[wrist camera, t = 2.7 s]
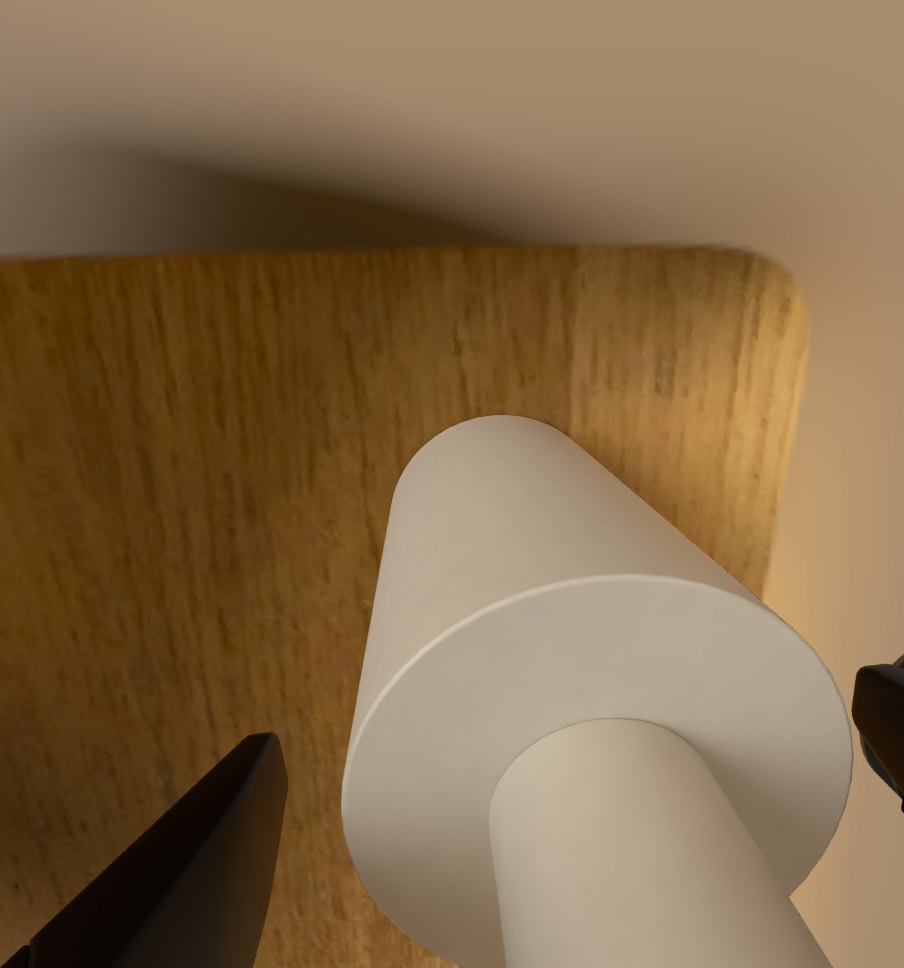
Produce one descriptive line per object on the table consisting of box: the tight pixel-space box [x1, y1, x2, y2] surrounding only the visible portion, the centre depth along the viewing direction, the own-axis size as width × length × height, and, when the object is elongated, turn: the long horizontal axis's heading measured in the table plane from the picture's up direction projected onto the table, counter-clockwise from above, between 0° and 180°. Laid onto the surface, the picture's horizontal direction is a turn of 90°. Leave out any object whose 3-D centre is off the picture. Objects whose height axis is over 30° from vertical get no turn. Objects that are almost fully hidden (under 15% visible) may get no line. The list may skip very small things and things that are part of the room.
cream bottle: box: [341, 415, 853, 968], centre depth 10 cm, size 6×6×13 cm
